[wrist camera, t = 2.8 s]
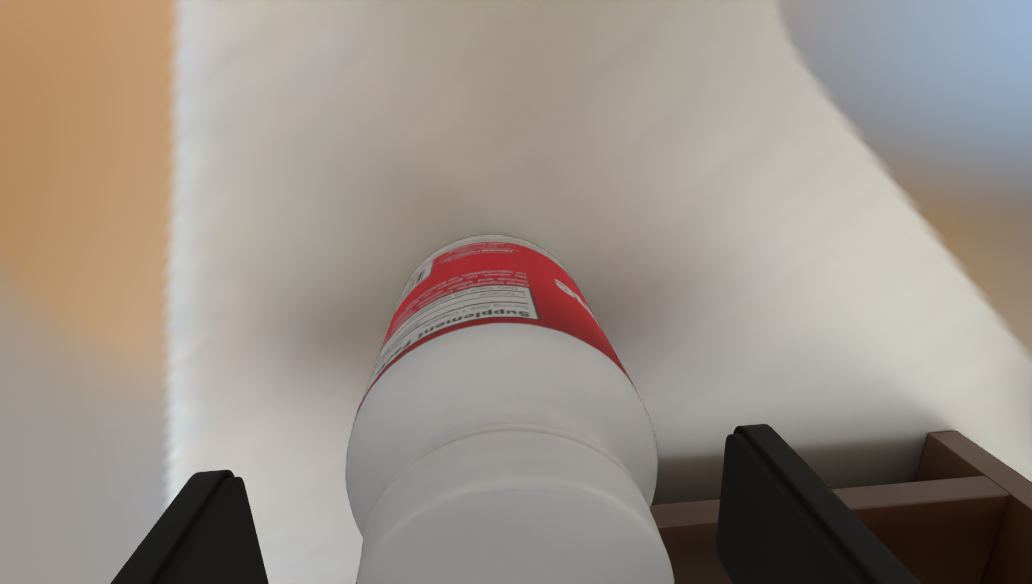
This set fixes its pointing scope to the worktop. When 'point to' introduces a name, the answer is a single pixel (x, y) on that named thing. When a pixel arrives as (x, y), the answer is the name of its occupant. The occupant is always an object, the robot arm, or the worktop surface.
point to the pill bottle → (502, 433)
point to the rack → (902, 521)
